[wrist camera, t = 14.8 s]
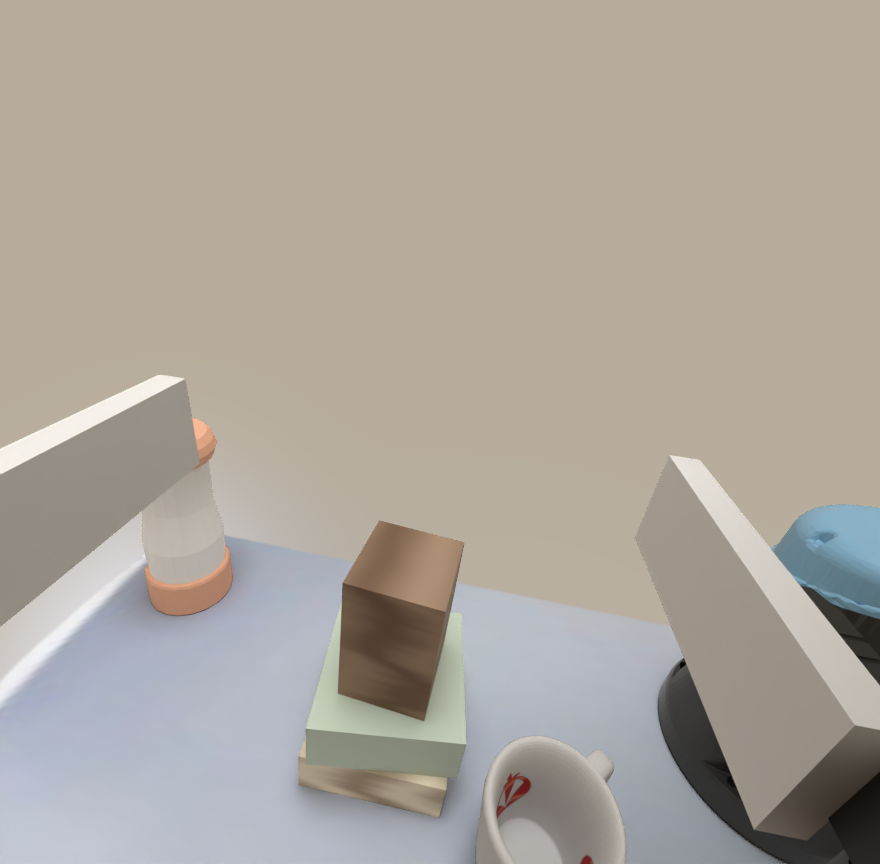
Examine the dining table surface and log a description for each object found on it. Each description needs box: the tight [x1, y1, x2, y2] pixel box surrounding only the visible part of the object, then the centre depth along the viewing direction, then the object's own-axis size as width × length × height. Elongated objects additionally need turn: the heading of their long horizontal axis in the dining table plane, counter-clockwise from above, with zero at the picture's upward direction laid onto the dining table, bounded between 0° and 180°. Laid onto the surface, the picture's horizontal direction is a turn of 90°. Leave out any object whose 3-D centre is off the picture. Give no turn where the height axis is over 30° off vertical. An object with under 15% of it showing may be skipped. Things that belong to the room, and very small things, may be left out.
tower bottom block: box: [298, 738, 447, 818], centre depth 34 cm, size 10×10×4 cm
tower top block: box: [306, 601, 466, 778], centre depth 32 cm, size 10×10×4 cm
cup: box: [476, 736, 626, 864], centre depth 27 cm, size 11×8×8 cm
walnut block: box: [338, 521, 464, 721], centre depth 29 cm, size 6×6×10 cm
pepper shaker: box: [142, 418, 233, 616], centre depth 40 cm, size 7×7×19 cm
